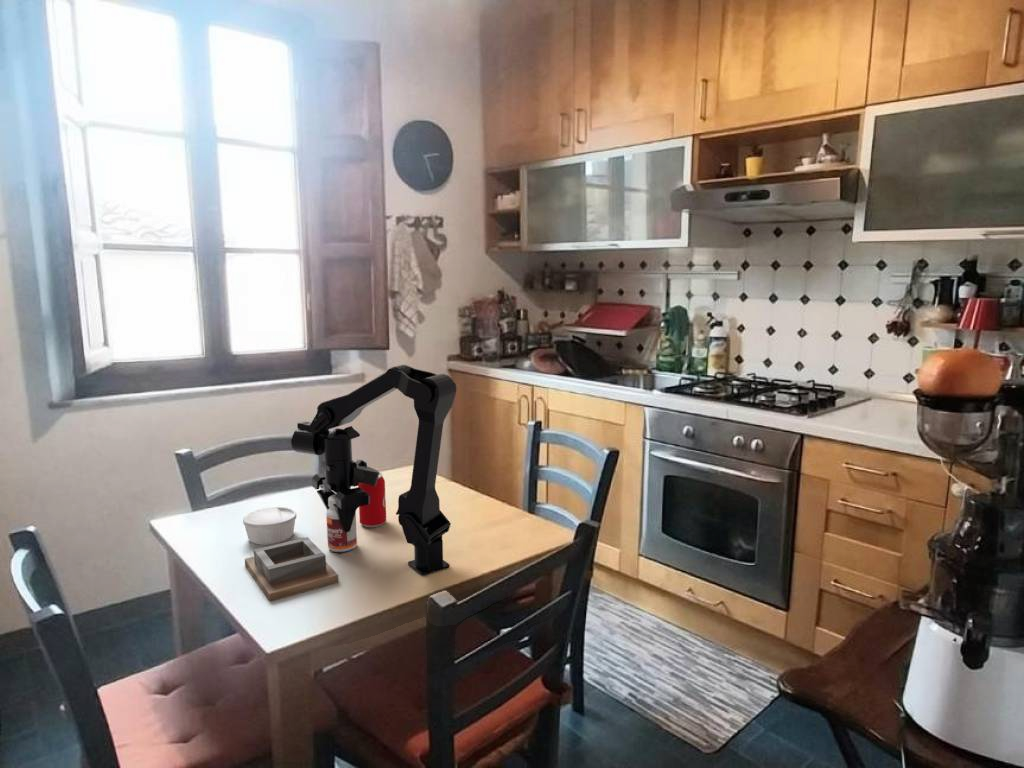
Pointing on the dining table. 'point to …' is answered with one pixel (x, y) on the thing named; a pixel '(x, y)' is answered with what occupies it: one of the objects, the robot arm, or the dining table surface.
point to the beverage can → (374, 504)
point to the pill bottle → (339, 530)
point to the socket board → (290, 568)
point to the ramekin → (270, 525)
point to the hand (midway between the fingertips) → (341, 527)
